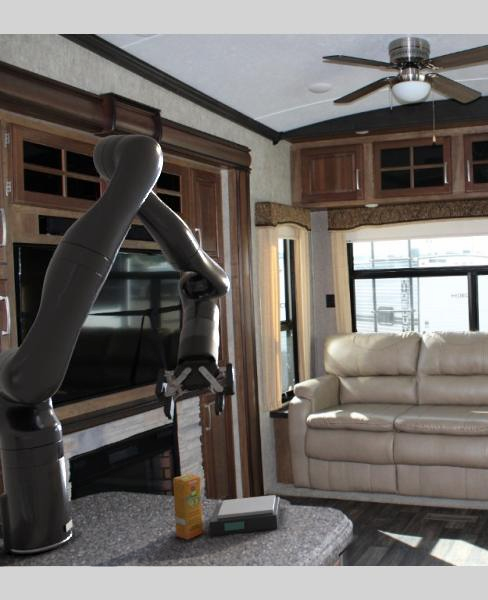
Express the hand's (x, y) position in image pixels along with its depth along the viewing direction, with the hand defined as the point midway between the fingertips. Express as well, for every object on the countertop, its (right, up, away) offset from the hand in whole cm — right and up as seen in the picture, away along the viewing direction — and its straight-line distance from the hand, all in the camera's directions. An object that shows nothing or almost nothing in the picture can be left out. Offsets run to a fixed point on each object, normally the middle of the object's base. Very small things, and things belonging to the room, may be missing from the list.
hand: (193, 415), depth 123 cm
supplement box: (+3, -19, -10) cm, 21 cm away
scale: (+11, -18, -6) cm, 22 cm away
